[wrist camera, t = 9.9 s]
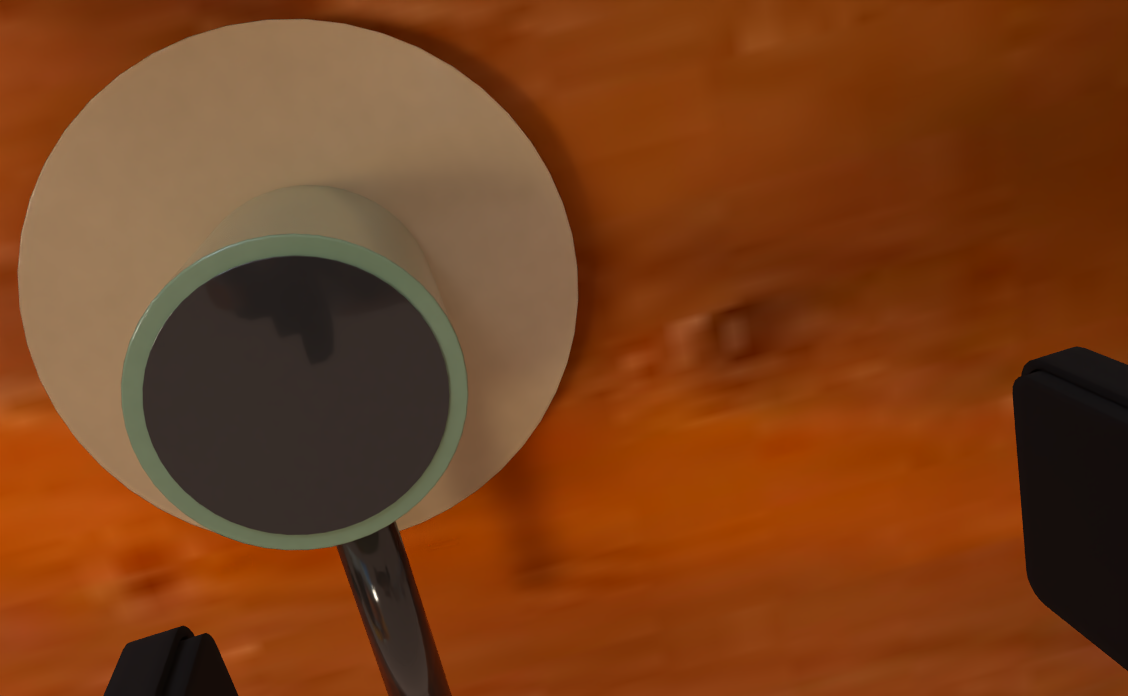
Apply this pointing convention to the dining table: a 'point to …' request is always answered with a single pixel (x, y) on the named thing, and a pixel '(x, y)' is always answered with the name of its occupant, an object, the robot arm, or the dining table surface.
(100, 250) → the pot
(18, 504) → the dining table surface
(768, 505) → the dining table surface
